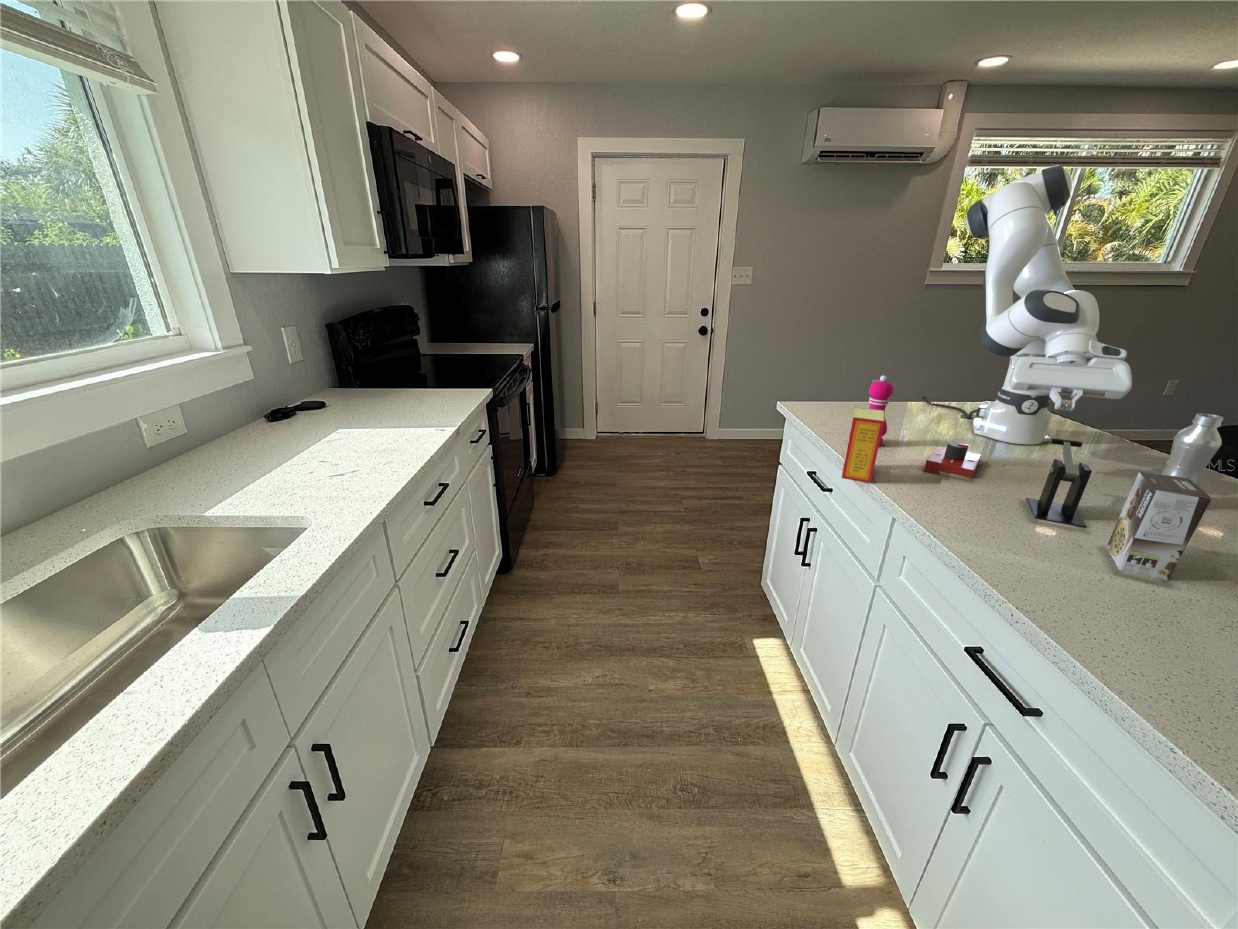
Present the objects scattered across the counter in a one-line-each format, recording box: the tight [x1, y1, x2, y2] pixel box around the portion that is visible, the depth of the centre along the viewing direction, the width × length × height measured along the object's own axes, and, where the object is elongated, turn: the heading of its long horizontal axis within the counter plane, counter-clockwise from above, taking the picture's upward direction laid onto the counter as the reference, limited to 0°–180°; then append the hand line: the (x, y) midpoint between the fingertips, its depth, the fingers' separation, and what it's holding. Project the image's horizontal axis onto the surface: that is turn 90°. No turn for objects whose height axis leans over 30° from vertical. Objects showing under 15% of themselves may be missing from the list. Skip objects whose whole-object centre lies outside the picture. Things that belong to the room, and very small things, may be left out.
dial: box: [944, 440, 970, 460], centre depth 124 cm, size 4×4×4 cm
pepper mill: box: [868, 374, 894, 447], centre depth 139 cm, size 7×7×20 cm
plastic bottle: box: [1160, 412, 1224, 487], centre depth 104 cm, size 6×7×20 cm
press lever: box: [1049, 437, 1083, 483], centre depth 101 cm, size 11×5×2 cm, turn 151°
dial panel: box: [923, 445, 982, 479], centre depth 125 cm, size 13×10×3 cm
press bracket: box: [1025, 458, 1093, 529], centre depth 100 cm, size 10×8×12 cm
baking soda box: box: [841, 407, 884, 484], centre depth 120 cm, size 10×6×16 cm
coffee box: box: [1106, 471, 1213, 582], centre depth 83 cm, size 9×6×16 cm
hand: (1064, 408), depth 106 cm, fingers closed
